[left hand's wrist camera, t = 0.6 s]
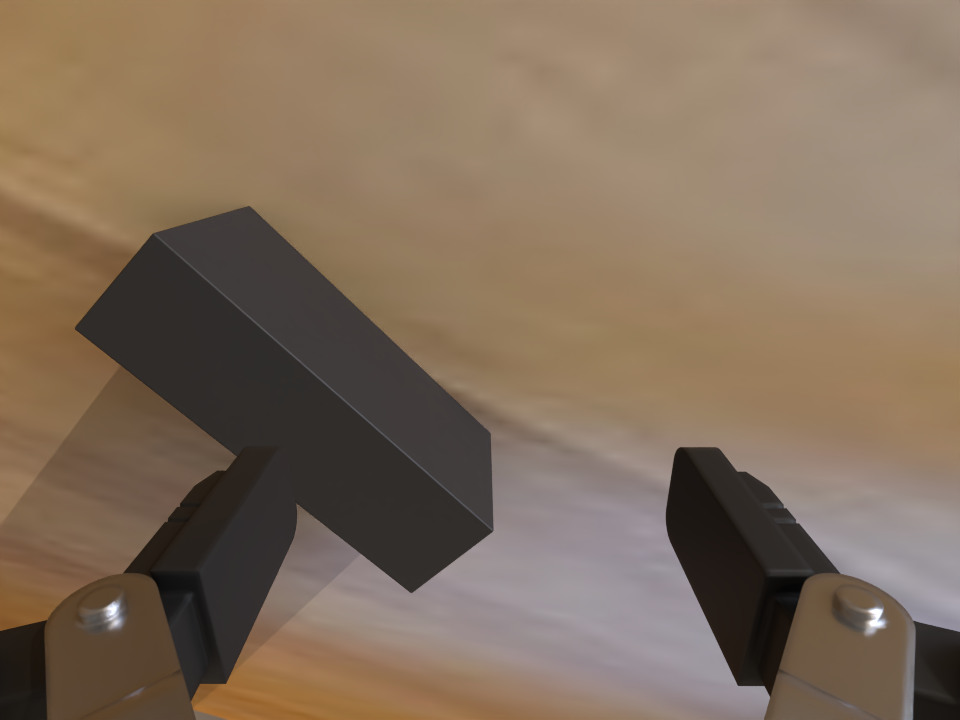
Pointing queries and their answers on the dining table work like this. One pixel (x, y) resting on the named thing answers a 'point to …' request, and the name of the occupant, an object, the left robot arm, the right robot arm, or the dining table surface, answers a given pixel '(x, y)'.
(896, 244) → the dining table surface
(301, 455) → the box
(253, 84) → the dining table surface
